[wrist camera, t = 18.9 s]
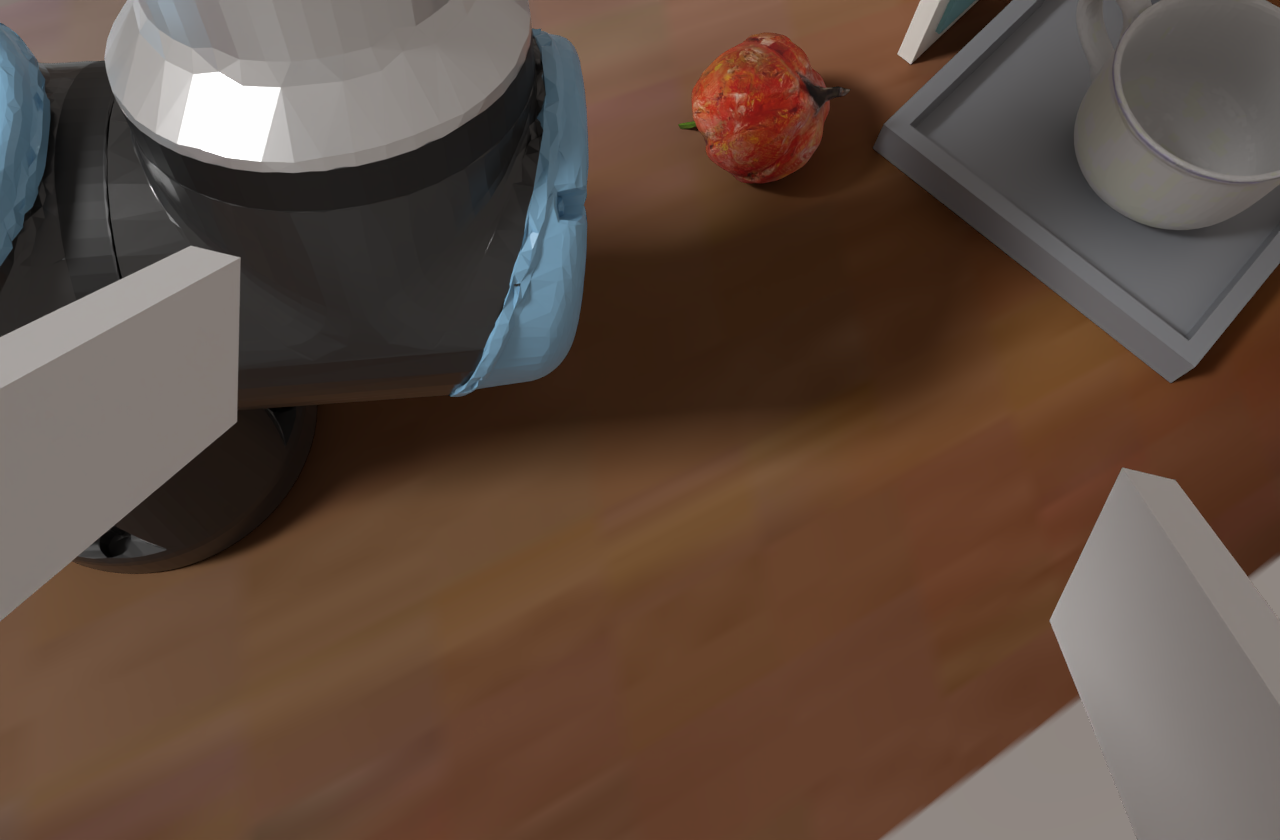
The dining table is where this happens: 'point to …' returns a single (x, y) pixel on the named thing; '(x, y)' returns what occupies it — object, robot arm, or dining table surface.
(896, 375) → the dining table surface
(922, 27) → the tag
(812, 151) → the pomegranate
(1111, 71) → the teacup
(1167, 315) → the tray
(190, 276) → the robot arm
